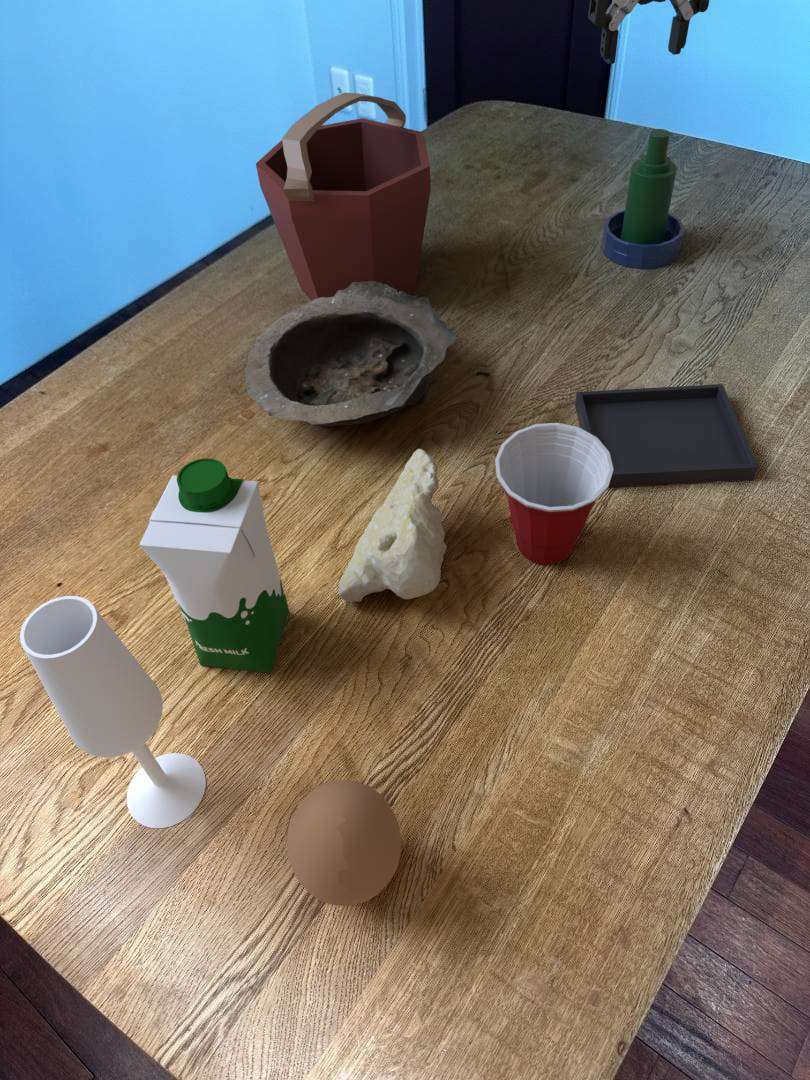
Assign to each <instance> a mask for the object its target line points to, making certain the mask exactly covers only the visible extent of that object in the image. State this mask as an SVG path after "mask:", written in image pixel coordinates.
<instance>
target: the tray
mask: <svg viewBox="0 0 810 1080" xmlns="http://www.w3.org/2000/svg"><path fill="white" fill-rule="evenodd" d="M574 407H575V411H576V415H577V419H578V420H577V421H578V424H579V428H581V429H583V430H585V431H586V432H588V433H590V434H592V435H593V436H595V437H597V438H598V439H599V440H600V441H601V443H602V444H603V445H604V446H605V448H606V449H607V450H608V451H609V452H610V456H611V461H612V465H613V469H614V470H613V473H612V476H611V479H610V483H609V486H608V488H623V487H625V488H627V487H644V486H645V487H646V486H663V485H664V486H665V485H685V484H705V483H706V482H708V483H718V482H717V481H728V482H742V481H743V480H748V481H754V480H755V477H756V474H757V472H758V469H759V465H758V463H757V461H756V458H755V456H754V454H753V452H752V449H751V447H750V445H749V441H748V440H747V437H746V435H745V433H744V431H743V428H742V426H741V424H740V421H739V418H738V416H737V414H736V412H735V409H734V407H733V405H732V403H731V401H730V398H729V395H728V393H727V391H726V388H725V386H724V384H723V383H718V384H717V383H716V384H700V385H699V384H698V385H679V386H665V387H664V386H662V387H644V388H643V387H642V388H625V389H607V390H592V391H591V390H588V391H587V390H586V391H576V393H575V402H574ZM738 480H740V481H738ZM741 480H742V481H741ZM714 481H715V482H714ZM704 482H705V483H704ZM743 482H744V481H743Z"/></svg>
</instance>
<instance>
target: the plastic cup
mask: <svg viewBox="0 0 810 1080" xmlns="http://www.w3.org/2000/svg"><path fill="white" fill-rule="evenodd" d="M494 464H495V472H496V478H497V480H498V482H499V484H501V486H502V487H503V490H504V491H505V496H506V497H507V502H508V507H509V513H510V518H511V522H512V523H511V524H512V530H513V532H514V536H515V542H516V546H517V548H518V550H519V552H520V554H521V555H522V556H523V557H524V558H525V559H526V560H528V561H530V562H532V563H534V564H538V565H542V566H546V565H547V566H548V565H556V564H559V563H561V562H564V561H565V560H566V559H567V558H568V557H569V556H570V555H571V554H572V552H573V551H574V549H575V547H576V544H577V541H578V538H579V537H580V536H581V533H582V531H583V529H584V527H585V525H586V522H587V520H588V517H589V515H590V513H591V511H592V508H593V505H594V504H595V503H596V501H597V499H598V498H599V497H600V496H601V495H602V494H603V493H604V492H605V491H606V490H607V489H608V488H609V487H608V486H609V483H610V479H611V476H612V473H613V470H614V469H613V465H612V461H611V456H610V452H609V451H608V450H607V449H606V448H605V446H604V445H603V444H602V443H601V441H600V440H599V439H598V438H597V437H595V436H593V435H592V434H590V433H588V432H586V431H585V430H583V429H581V428H580V426H575V425H570V424H565V423H561V422H549V423H548V422H547V423H535V424H531V425H529V426H527V427H524V428H521V429H519V430H517V431H514V433H512V434H511V435H510V436H509V437H508V438H506V440H504V441H503V442H502V443H501V444H500V446H499V449H498V452H497V454H496V457H495V458H494Z"/></svg>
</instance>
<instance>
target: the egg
mask: <svg viewBox="0 0 810 1080" xmlns="http://www.w3.org/2000/svg"><path fill="white" fill-rule="evenodd" d="M286 835H287V836H286V838H287V839H286V846H287V857H288V860H289V862H290V866H291V869H292V871H293V875H294V876H295V878H296V879H297V880H298V882H299V884H300V885H301V886H302V887H303V889H304V890H306V892H307V893H309V895H310V896H312V897H314V898H316V899H317V900H319V901H321V902H323V903H325V904H328V905H331V906H338V907H349V906H355V905H360V904H363V903H366V902H368V901H370V900H371V899H372V898H374V897H376V896H378V895H379V894H380V893H381V892H382V891H383V890H384V889H385V888H386V886H387V885H388V884H389V883H390V881H391V880H392V879H393V877H394V875H395V873H396V872H397V869H398V866H399V862H400V859H401V855H402V837H401V829H400V825H399V822H398V819H397V815H396V813H395V812H394V810H393V809H392V807H391V805H390V803H389V802H388V801H387V800H386V799H385V797H384V796H383V795H382V793H380V792H379V791H377V790H376V789H374V788H373V787H371V786H370V785H367V784H366V783H363V782H359V781H358V780H357V781H356V780H350V779H349V780H348V779H336V780H330V781H327V782H323V783H322V784H320V785H319V786H316V787H315V788H313V789H312V790H311V791H310V792H308V794H307V795H305V797H303V798H302V800H301V801H300V802H299V803H298V805H297V807H296V808H295V810H294V811H293V813H292V815H291V818H290V821H289V825H288V829H287V833H286Z"/></svg>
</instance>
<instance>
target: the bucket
mask: <svg viewBox="0 0 810 1080" xmlns="http://www.w3.org/2000/svg"><path fill="white" fill-rule="evenodd" d="M359 102H365V103H366V102H369V103H374V104H376V105H377V106H378V107H379V108H380V109H381V110H382V111H383V112H384V114H385V115H386V119H385V120H386V121H384V122H381V121H377V120H373V119H368V118H364V117H360V118H355V119H350V120H344V121H340V122H334V123H328V124H326V122H327V121H329V120H330V119H331V118H333V116H334V115H335V114H338V113H339V112H341V111H342V110H345V109H346V108H347V107H350V106H352V105H354V104H357V103H359ZM406 121H407V115H406V113H405V112H404V111H403V109H402V108H401V107H400V106H399V105H398V103H397V102H396V101H393V100H389V99H386V98H384V97H381V96H380V97H379V96H374V95H369V94H365V93H359V92H342V93H339V94H337V95H335V96H333V97H330V98H328V99H326V100H325V101H323V102H321V103H319V104H317V105H315V106H314V107H313V108H311V109H310V110H309V111H307V112H306V113H304V114H303V115H302V116H301V117H300V118H298V120H296V121H295V122H294V123H293V124H291V126H290V127H289V129H288V130H287V131H286V133H285V134H284V135H283V136H282V138H281V140H280V141H279V142H278V143H276V145H275V146H273V147H272V148H271V149H270V150H269V151H268V152H267V153H266V154H265V155H263V156H262V157H261V158H260V159H259V160H258V161H257V162H255V168H256V173H257V177H258V178H257V179H258V182H259V188H260V189H261V192H262V194H263V195H262V196H263V198H264V199H265V202H266V205H267V207H268V210H269V213H270V214H271V217H272V219H273V222H274V225H275V227H276V229H277V232H278V235H279V238H280V240H281V242H282V245H283V247H284V250H285V253H286V255H287V256H288V260H289V262H290V265H291V268H292V270H293V272H294V275H295V277H296V280H297V283H298V285H299V288H300V290H301V291H302V292H303V293H304V294H305V295H306V296H307V298H309V300H310V302H311V301H312V300H314V299H317V298H321V297H325V298H328V297H334V295H335V294H336V292H337V291H339V290H345V289H346V288H347V287H349V286H350V285H351V284H352V282H366V281H374V282H376V283H377V282H380V283H382V284H383V285H384V284H387V285H388V286H389V287H392V288H394V289H396V290H397V292H400V291H403V292H405V293H406V294H408V295H412V296H414V295H415V294H416V287H417V280H418V273H419V267H420V261H421V254H422V248H423V241H424V236H425V228H426V223H427V215H428V209H429V203H430V202H429V201H430V196H431V189H432V188H431V165H430V160H429V155H428V150H427V144H426V140H425V135H424V131H421V130H420V131H419V130H416V129H411V128H407V127H405V126H406Z"/></svg>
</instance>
